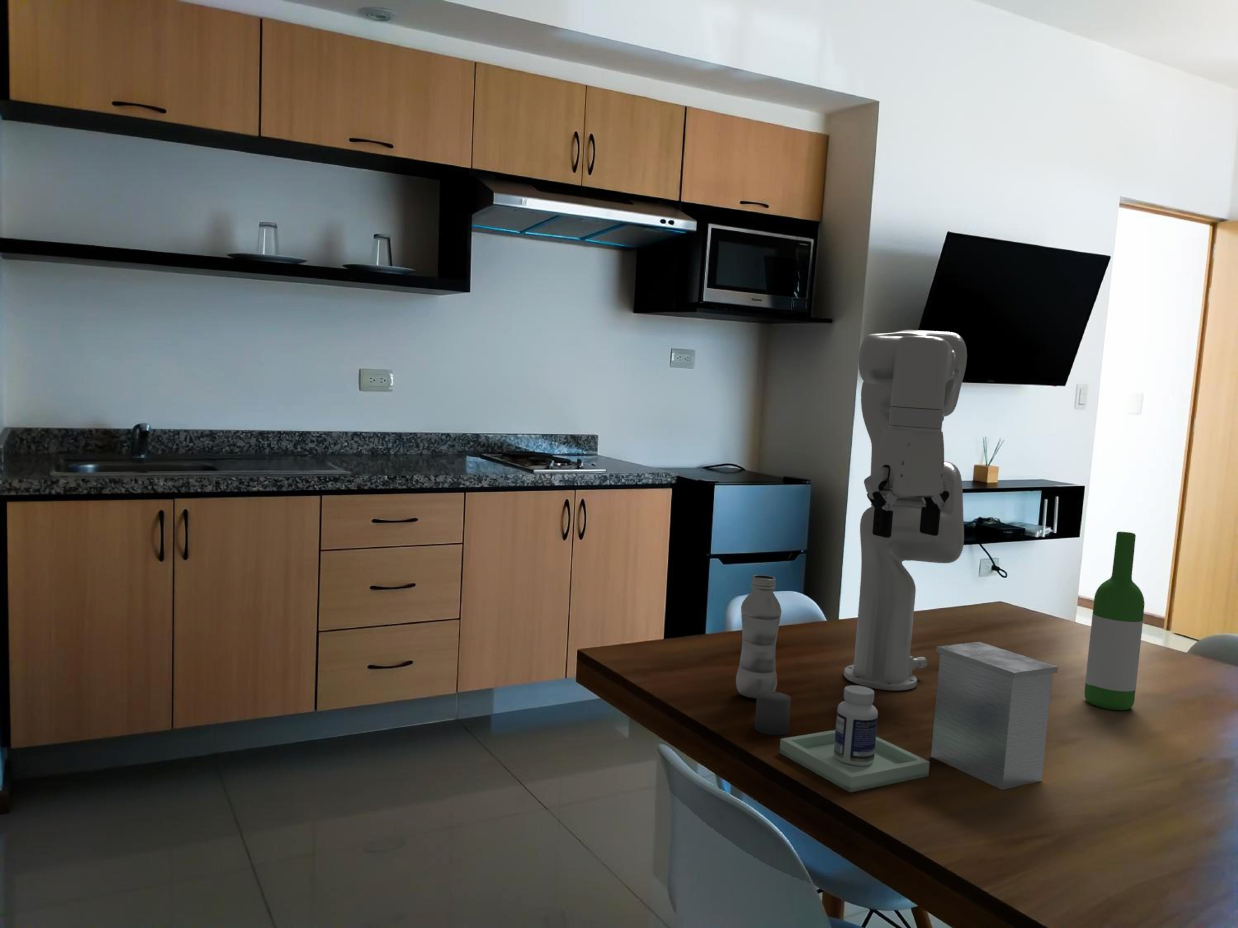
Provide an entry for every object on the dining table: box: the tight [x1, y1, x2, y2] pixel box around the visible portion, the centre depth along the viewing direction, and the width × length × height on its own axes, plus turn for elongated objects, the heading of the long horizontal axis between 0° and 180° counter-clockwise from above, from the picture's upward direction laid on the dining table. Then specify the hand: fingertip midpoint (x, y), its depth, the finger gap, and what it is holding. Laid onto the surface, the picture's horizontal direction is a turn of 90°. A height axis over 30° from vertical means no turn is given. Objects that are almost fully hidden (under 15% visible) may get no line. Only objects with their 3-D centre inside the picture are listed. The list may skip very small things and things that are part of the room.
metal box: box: [930, 641, 1059, 791], centre depth 132 cm, size 9×13×16 cm
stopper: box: [754, 691, 792, 736], centre depth 143 cm, size 5×5×5 cm
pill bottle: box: [834, 684, 879, 766], centre depth 131 cm, size 5×5×10 cm
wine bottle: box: [1084, 531, 1145, 711], centre depth 165 cm, size 8×8×30 cm
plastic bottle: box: [735, 574, 782, 700], centre depth 157 cm, size 6×7×20 cm
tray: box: [779, 729, 931, 793], centre depth 131 cm, size 14×14×2 cm
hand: (905, 535), depth 143 cm, fingers open, 9 cm apart
